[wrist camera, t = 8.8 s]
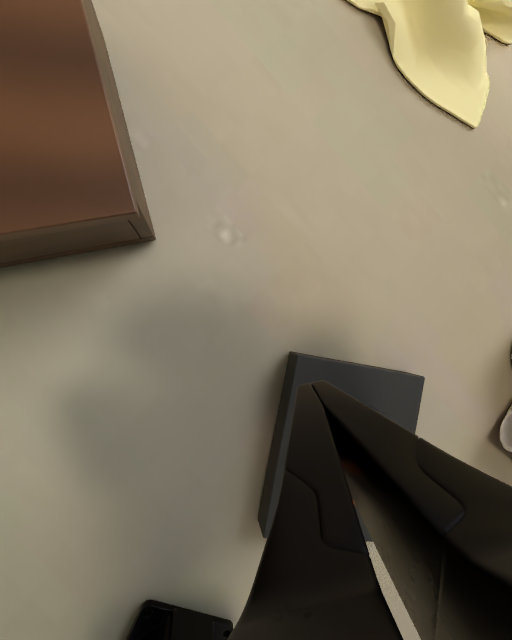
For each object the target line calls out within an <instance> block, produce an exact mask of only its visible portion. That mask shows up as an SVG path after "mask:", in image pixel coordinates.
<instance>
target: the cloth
mask: <svg viewBox="0 0 512 640" xmlns="http://www.w3.org/2000/svg"><path fill="white" fill-rule="evenodd" d="M347 1H348V2H350V3H351V4H353V5H354V6H356V7H357V8H359V9H362V10H365V11H368V12H371V13H373V14H376V15H379V16H381V17H382V19H383V23H384V27H385V30H386V34H387V37H388V41H389V45H390V50H391V52H392V56H393V59H394V61H395V64H396V66H397V67H398V69H399V70H400V71H401V73H402V74H403V75H404V76H405V78H406V79H407V80H408V81H409V82H410V83H411V84H412V85H413V86H414V87H415V88H416V89H417V90H418V91H419V92H420V93H421V94H422V95H423V96H424V97H426V98H427V99H428V100H430V101H431V102H432V103H434V104H435V105H437V106H438V107H440V108H442V109H443V110H445V111H447V112H448V113H450V114H452V115H453V116H455V117H456V118H458V119H460V120H461V121H463V122H464V123H466V124H468V125H469V126H471V127H472V128H476V127H477V126H478V125H479V123H480V120H481V117H482V114H483V110H484V107H485V104H486V100H487V95H488V91H489V87H490V85H489V77H488V74H487V73H486V43H485V37H484V32H486V33H487V34H489V35H491V36H493V37H494V38H496V39H498V40H499V41H501V42H502V43H506V44H511V43H512V0H347ZM483 31H484V32H483Z"/></svg>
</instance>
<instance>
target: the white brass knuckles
mask: <svg viewBox="0 0 512 640" xmlns="http://www.w3.org/2000/svg"><path fill="white" fill-rule="evenodd" d="M511 357H512V356H511ZM500 440H501V442H502V445H503V447H504V448H505V449H506V450H507V451H510V452H512V405H511V407H510V408H509V410H508V411H507V413H506V416H505V418H504V420H503V422H502V424H501V427H500Z"/></svg>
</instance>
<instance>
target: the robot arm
mask: <svg viewBox="0 0 512 640" xmlns="http://www.w3.org/2000/svg"><path fill="white" fill-rule="evenodd" d="M353 501H354V503H355V505H356V507H357V510H358V512H359V514H360V516H361V518H362V520H363V522H364V524H365V526H366V528H367V530H368V532H369V534H370V536H371V538H372V540H373V542H374V544H375V546H376V548H377V550H378V552H379V554H380V556H381V558H382V561H383V563H384V565H385V567H386V569H387V571H388V573H389V575H390V577H391V579H392V581H393V583H394V585H395V587H396V589H397V591H398V593H399V595H400V597H401V599H402V601H403V603H404V605H405V607H406V609H407V612H408V614H409V616H410V618H411V620H412V622H413V624H414V626H415V628H416V630H417V632H418V634H419V636H420V638H421V640H512V486H510V485H508V484H505V483H503V482H501V481H499V480H497V479H495V478H493V477H491V476H489V475H487V474H485V473H483V472H481V471H480V470H478V469H476V468H474V467H472V466H470V465H468V464H466V463H464V462H462V461H460V460H458V459H456V458H455V457H453V456H451V455H449V454H448V453H446V452H444V451H442V450H441V449H439V448H437V447H435V446H434V445H432V444H430V443H429V442H427V441H425V440H424V439H422V438H419V439H418V436H417V435H415V434H413V433H412V432H410V431H408V430H407V429H405V428H403V427H402V426H400V425H398V424H397V423H395V422H393V421H392V420H390V419H388V418H387V417H385V416H383V415H382V414H380V413H378V412H377V411H375V410H373V409H372V408H370V407H368V406H367V405H365V404H363V403H362V402H360V401H358V400H357V399H355V398H353V397H352V396H350V395H348V394H347V393H345V392H343V391H342V390H340V389H338V388H337V387H335V386H333V385H332V384H330V383H328V382H327V381H325V380H320V381H316V382H312V383H311V384H309V383H307V384H303V385H299V386H298V387H297V391H296V397H295V404H294V410H293V416H292V422H291V428H290V435H289V441H288V447H287V453H286V459H285V466H284V471H283V477H282V483H281V488H280V493H279V498H278V503H277V507H276V510H275V514H274V518H273V521H272V525H271V528H270V531H269V535H268V538H267V541H266V544H265V548H264V551H263V554H262V557H261V560H260V564H259V567H258V570H257V573H256V577H255V580H254V583H253V586H252V589H251V592H250V595H249V598H248V600H247V603H246V605H245V608H244V610H243V612H242V615H241V617H240V619H239V621H238V622H237V624H236V626H235V628H234V629H233V623H232V622H231V621H230V620H227V619H223V618H219V617H216V616H212V615H208V614H204V613H200V612H197V611H193V610H189V609H185V608H182V607H178V606H174V605H170V604H166V603H163V602H159V601H155V600H147V601H145V602H144V603H143V604H142V606H141V608H140V610H139V612H138V614H137V616H136V618H135V620H134V623H133V625H132V627H131V629H130V631H129V633H128V635H127V637H126V639H125V640H403V638H402V635H401V633H400V631H399V629H398V627H397V624H396V622H395V620H394V618H393V616H392V613H391V611H390V609H389V607H388V605H387V602H386V600H385V598H384V596H383V593H382V591H381V588H380V585H379V583H378V580H377V577H376V574H375V571H374V568H373V565H372V562H371V559H370V557H369V552H368V548H367V545H366V542H365V539H364V535H363V532H362V529H361V526H360V522H359V519H358V516H357V512H356V509H355V506H354V503H353ZM146 610H151V611H146ZM225 630H227V631H225Z"/></svg>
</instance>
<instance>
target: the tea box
mask: <svg viewBox="0 0 512 640" xmlns="http://www.w3.org/2000/svg"><path fill="white" fill-rule="evenodd" d="M84 4H85V8H86V11H87V15H88V19H89V23H90V27H91V31H92V34H93V38H94V42H95V46H96V50H97V54H98V57H99V61H100V65H101V69H102V73H103V76H104V80H105V84H106V88H107V92H108V96H109V99H110V103H111V107H112V111H113V115H114V119H115V122H116V126H117V130H118V134H119V138H120V142H121V145H122V149H123V153H124V157H125V161H126V165H127V168H128V172H129V176H130V180H131V184H132V187H133V191H134V195H135V199H136V203H137V207H138V210H139V214H140V218H139V219H133V220H127V221H121V222H115V223H109V224H103V225H97V226H91V227H85V228H79V229H73V230H67V231H61V232H55V233H49V234H43V235H37V236H30V237H24V238H18V239H12V240H6V241H0V268H2V267H8V266H13V265H19V264H24V263H30V262H35V261H41V260H46V259H52V258H57V257H63V256H68V255H74V254H79V253H84V252H90V251H95V250H101V249H106V248H112V247H117V246H123V245H128V244H134V243H139V242H145V241H150V240H155V239H156V238H155V234H154V230H153V226H152V222H151V219H150V215H149V211H148V207H147V203H146V199H145V195H144V192H143V188H142V184H141V180H140V176H139V172H138V168H137V164H136V161H135V157H134V153H133V149H132V145H131V141H130V137H129V134H128V130H127V126H126V122H125V118H124V114H123V110H122V106H121V103H120V99H119V95H118V91H117V87H116V83H115V79H114V76H113V72H112V68H111V64H110V60H109V56H108V52H107V48H106V45H105V41H104V37H103V34H102V31H101V28H100V25H99V22H98V19H97V16H96V13H95V10H94V7H93V4H92V1H91V0H84Z"/></svg>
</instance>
